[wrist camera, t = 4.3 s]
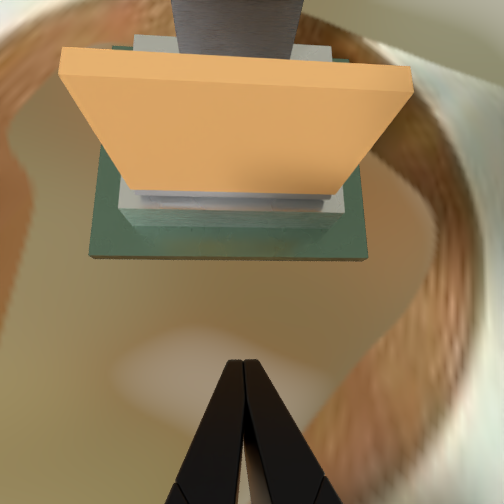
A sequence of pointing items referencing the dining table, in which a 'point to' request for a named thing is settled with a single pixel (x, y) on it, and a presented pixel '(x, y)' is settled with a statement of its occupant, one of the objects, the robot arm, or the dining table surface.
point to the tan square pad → (233, 119)
